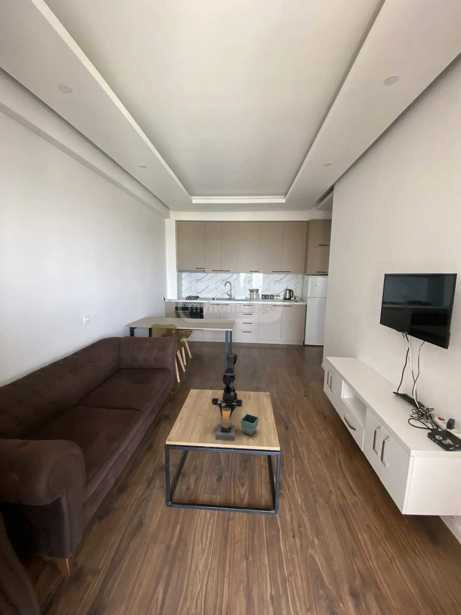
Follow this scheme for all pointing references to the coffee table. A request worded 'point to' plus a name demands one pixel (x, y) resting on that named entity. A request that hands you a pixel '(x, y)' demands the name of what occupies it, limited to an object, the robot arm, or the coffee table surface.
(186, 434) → the coffee table surface
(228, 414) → the plug
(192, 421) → the coffee table surface
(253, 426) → the flower pot
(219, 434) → the socket
